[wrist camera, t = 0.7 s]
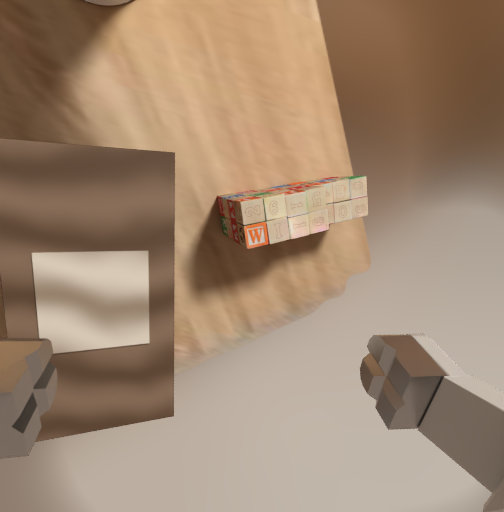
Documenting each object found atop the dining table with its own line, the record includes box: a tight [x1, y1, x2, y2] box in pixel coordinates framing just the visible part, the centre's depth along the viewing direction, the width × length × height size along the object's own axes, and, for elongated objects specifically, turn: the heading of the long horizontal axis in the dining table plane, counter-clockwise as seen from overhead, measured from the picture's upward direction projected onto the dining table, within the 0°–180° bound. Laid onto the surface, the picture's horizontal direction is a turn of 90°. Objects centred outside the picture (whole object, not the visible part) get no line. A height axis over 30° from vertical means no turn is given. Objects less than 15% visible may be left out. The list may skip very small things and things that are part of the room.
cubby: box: [0, 138, 175, 442], centre depth 41 cm, size 29×15×18 cm, turn 177°
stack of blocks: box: [217, 176, 368, 249], centre depth 51 cm, size 21×6×12 cm, turn 98°
